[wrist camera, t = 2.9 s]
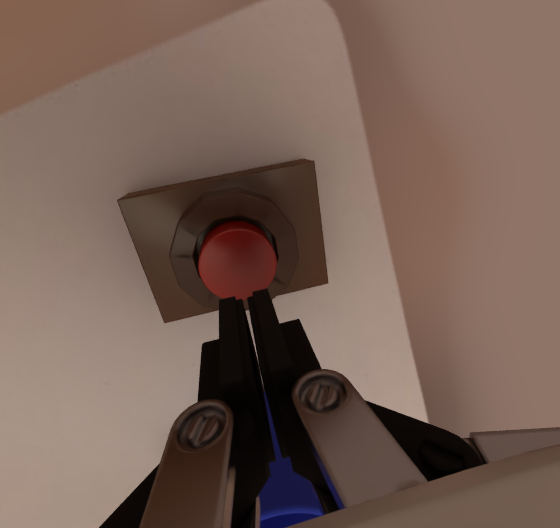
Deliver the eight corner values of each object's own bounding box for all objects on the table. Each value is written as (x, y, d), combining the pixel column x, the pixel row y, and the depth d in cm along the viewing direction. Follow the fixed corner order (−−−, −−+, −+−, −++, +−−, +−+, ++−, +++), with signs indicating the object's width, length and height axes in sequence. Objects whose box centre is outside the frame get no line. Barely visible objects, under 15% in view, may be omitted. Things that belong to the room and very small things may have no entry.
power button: (210, 293, 18) (209, 309, 16) (190, 228, 16) (188, 238, 15) (277, 278, 18) (282, 291, 17) (264, 213, 17) (269, 220, 15)
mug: (148, 415, 25) (109, 576, 16) (290, 365, 26) (330, 490, 16) (188, 475, 28) (174, 636, 19) (311, 429, 29) (355, 562, 20)
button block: (168, 306, 22) (159, 340, 18) (127, 193, 18) (105, 207, 15) (318, 270, 23) (338, 296, 19) (304, 158, 19) (324, 163, 16)
